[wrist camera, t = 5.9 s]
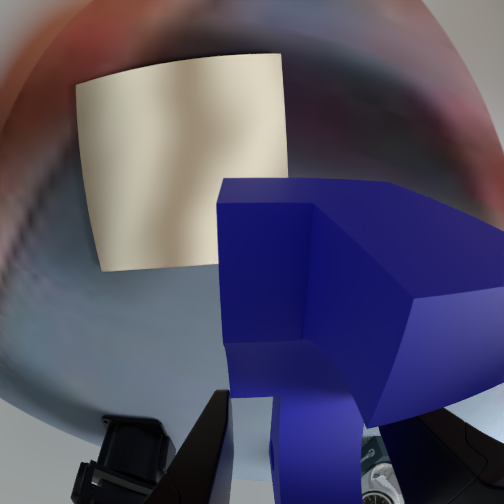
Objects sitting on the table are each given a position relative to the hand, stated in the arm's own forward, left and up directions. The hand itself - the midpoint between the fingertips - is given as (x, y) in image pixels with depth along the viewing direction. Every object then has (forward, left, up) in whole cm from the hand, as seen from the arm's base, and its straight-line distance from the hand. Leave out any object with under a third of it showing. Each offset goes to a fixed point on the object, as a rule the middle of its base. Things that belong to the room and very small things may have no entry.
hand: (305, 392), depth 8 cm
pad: (-5, +6, -11) cm, 13 cm away
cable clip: (0, 0, -2) cm, 2 cm away
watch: (+12, -27, -11) cm, 32 cm away
